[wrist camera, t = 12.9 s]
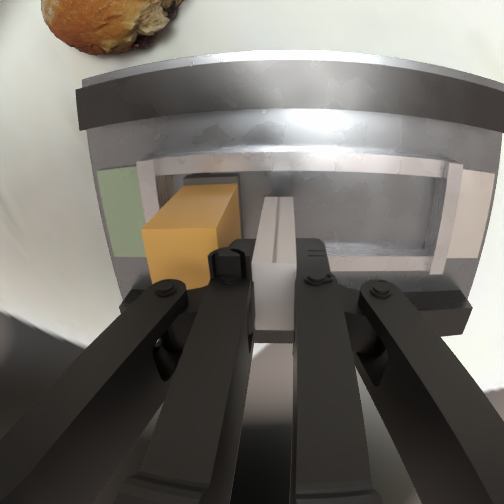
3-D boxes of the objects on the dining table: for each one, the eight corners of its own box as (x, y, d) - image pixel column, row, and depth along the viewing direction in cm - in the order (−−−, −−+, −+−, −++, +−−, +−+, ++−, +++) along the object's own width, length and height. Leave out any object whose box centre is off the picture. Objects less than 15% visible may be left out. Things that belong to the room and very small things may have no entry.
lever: (195, 244, 20) (159, 312, 14) (186, 175, 18) (139, 219, 12) (243, 244, 19) (225, 315, 13) (239, 172, 17) (215, 217, 11)
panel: (138, 307, 25) (119, 340, 22) (98, 79, 17) (61, 80, 13) (449, 308, 23) (468, 341, 19) (487, 82, 15) (524, 85, 11)
